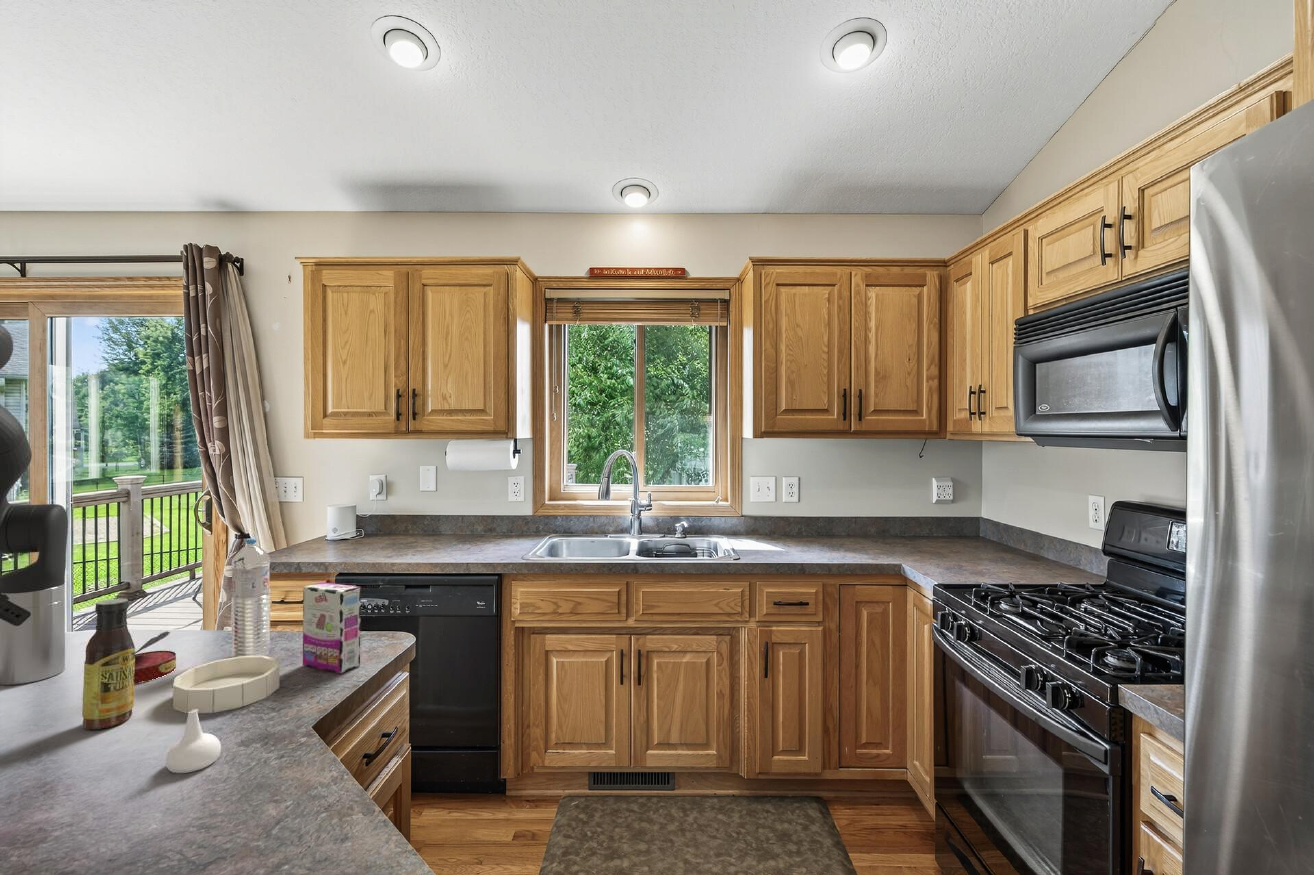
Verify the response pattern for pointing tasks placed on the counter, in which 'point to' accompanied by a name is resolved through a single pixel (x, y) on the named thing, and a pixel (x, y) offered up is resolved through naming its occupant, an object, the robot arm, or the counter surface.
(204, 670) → the bowl
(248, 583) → the water bottle
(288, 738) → the counter surface
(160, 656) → the canned food
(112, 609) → the sauce bottle
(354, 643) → the candy bar box
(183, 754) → the garlic bulb
